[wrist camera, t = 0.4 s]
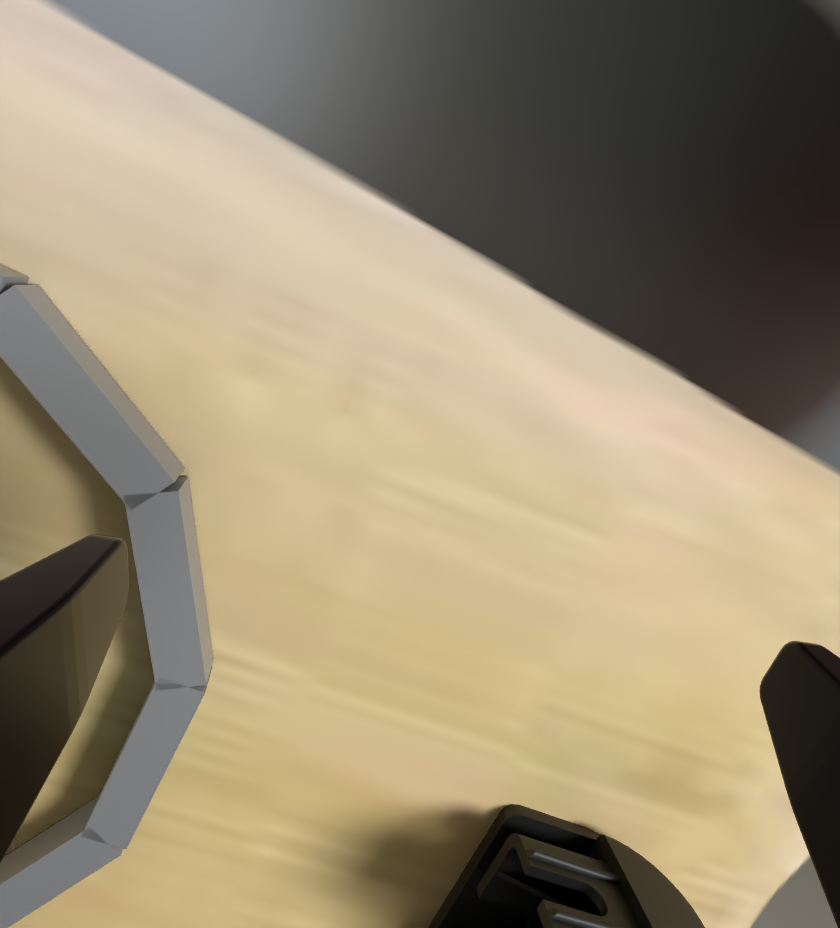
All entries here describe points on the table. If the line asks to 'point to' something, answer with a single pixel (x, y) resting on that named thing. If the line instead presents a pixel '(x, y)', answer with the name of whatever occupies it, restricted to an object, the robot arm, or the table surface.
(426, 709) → the table surface
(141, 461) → the ring
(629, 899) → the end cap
